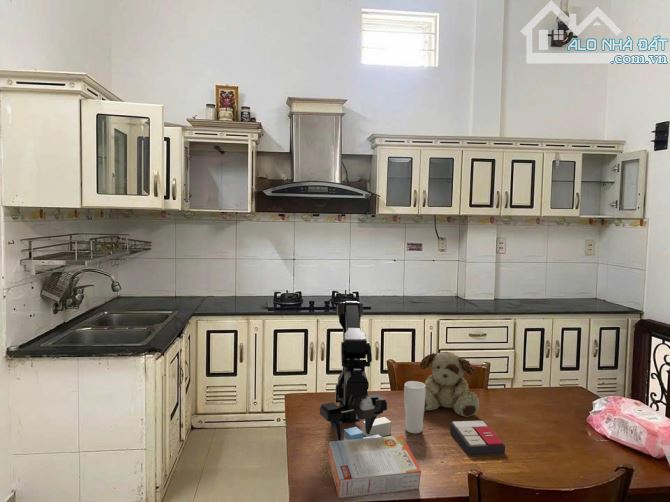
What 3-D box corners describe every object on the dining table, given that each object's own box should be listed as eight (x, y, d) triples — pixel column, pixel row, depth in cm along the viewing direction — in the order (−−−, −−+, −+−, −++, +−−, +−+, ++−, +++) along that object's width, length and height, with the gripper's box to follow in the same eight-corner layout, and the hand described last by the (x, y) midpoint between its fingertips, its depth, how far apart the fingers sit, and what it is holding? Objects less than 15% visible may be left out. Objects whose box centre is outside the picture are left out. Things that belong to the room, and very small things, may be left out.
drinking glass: (424, 436, 141) (425, 389, 140) (402, 434, 142) (403, 387, 141) (424, 426, 147) (425, 381, 146) (403, 424, 149) (404, 380, 148)
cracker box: (401, 452, 126) (327, 458, 122) (403, 434, 124) (328, 439, 120) (419, 491, 113) (337, 499, 108) (422, 471, 111) (338, 478, 107)
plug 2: (362, 433, 142) (362, 421, 142) (384, 428, 146) (384, 416, 145) (369, 439, 138) (369, 426, 138) (391, 434, 142) (391, 421, 142)
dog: (409, 410, 161) (411, 355, 159) (420, 392, 178) (422, 342, 177) (478, 422, 152) (480, 363, 151) (482, 402, 169) (484, 349, 168)
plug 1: (343, 457, 128) (343, 429, 127) (355, 453, 130) (356, 426, 129) (351, 465, 124) (351, 436, 123) (364, 461, 125) (364, 433, 125)
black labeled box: (469, 445, 129) (450, 419, 144) (468, 459, 129) (449, 432, 144) (506, 443, 130) (483, 418, 145) (505, 457, 131) (482, 431, 146)
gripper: (337, 398, 114) (336, 457, 115) (398, 387, 123) (397, 442, 124) (319, 383, 124) (318, 438, 125) (377, 374, 133) (376, 426, 134)
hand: (353, 436), depth 127 cm, fingers open, 9 cm apart
